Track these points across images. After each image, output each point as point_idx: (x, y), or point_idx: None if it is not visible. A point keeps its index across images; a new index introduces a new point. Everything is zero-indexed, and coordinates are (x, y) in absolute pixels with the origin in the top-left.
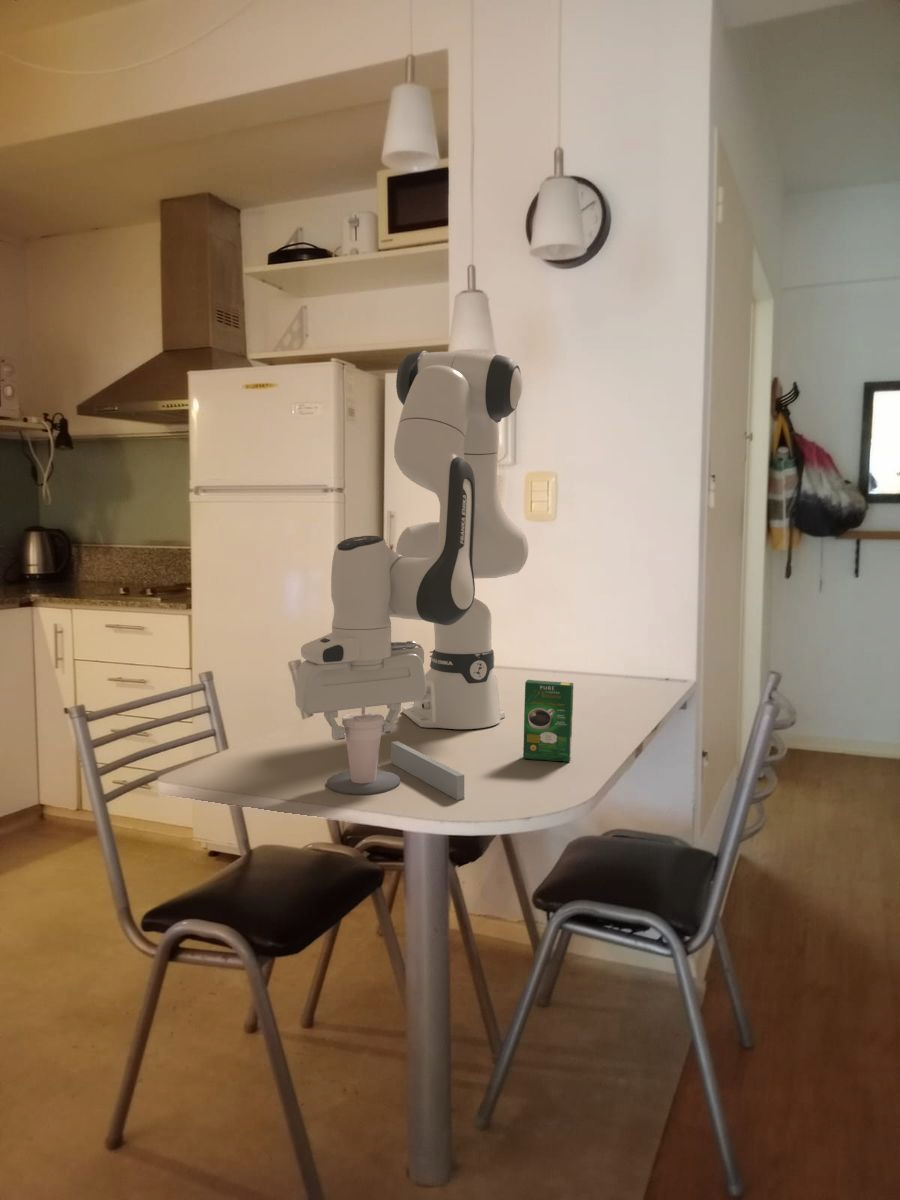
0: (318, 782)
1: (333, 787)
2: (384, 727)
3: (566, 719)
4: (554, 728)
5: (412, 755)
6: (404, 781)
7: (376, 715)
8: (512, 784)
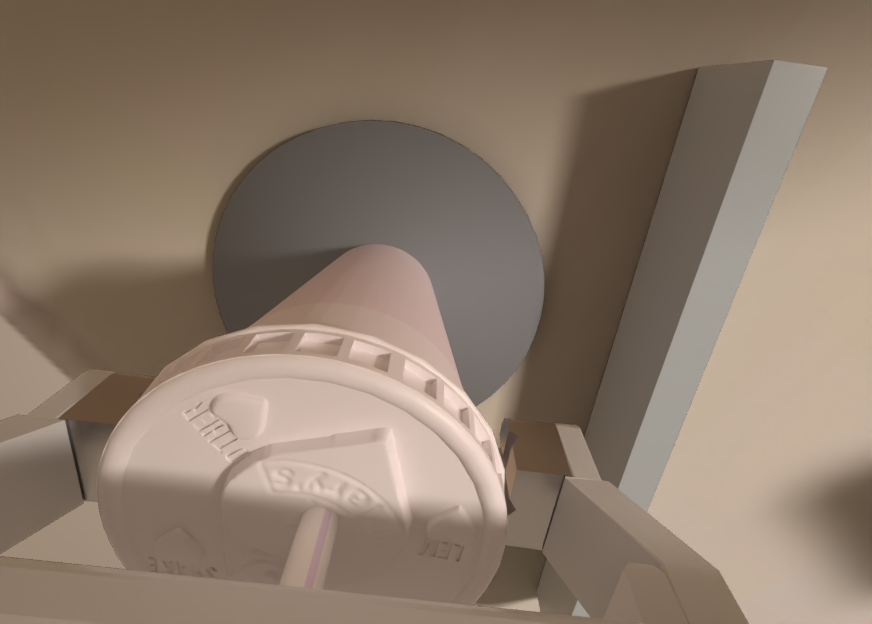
0: (203, 149)
1: (219, 309)
2: (505, 483)
3: None
4: None
5: (656, 362)
6: (535, 364)
7: (454, 541)
8: (784, 579)
